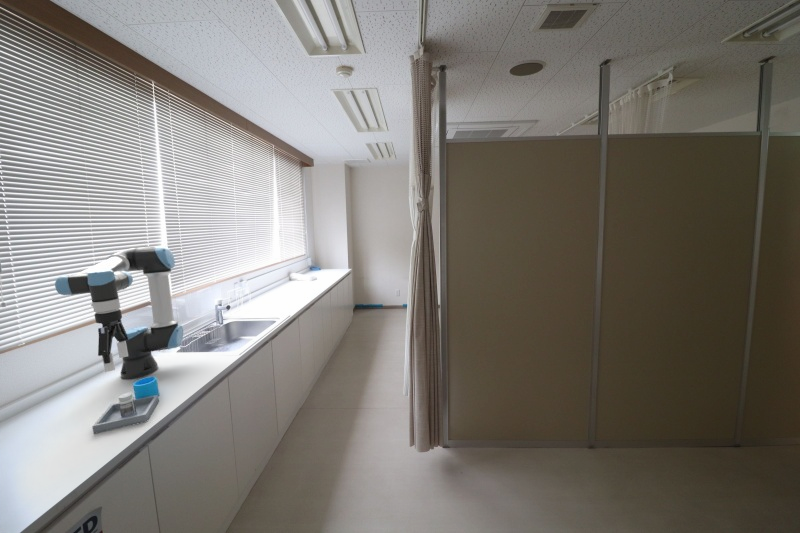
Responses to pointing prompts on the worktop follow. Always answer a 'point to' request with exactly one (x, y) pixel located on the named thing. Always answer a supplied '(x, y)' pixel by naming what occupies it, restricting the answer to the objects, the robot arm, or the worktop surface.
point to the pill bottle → (127, 405)
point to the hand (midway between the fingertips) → (117, 363)
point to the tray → (114, 420)
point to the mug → (146, 387)
